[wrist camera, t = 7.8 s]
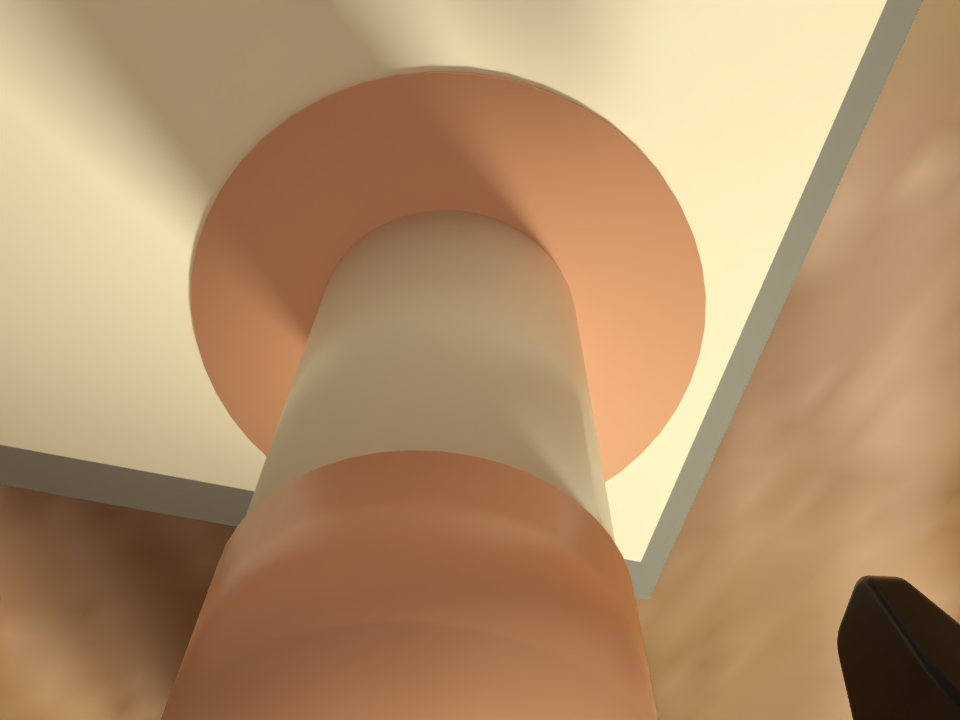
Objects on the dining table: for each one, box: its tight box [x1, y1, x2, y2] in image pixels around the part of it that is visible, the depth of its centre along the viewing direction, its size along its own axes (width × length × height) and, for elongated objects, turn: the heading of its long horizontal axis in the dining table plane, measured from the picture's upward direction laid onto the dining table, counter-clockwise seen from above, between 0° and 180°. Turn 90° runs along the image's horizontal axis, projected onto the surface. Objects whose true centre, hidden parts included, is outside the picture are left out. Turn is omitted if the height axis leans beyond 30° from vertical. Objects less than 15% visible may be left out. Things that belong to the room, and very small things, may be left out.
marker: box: [161, 210, 658, 720], centre depth 11 cm, size 4×4×8 cm
